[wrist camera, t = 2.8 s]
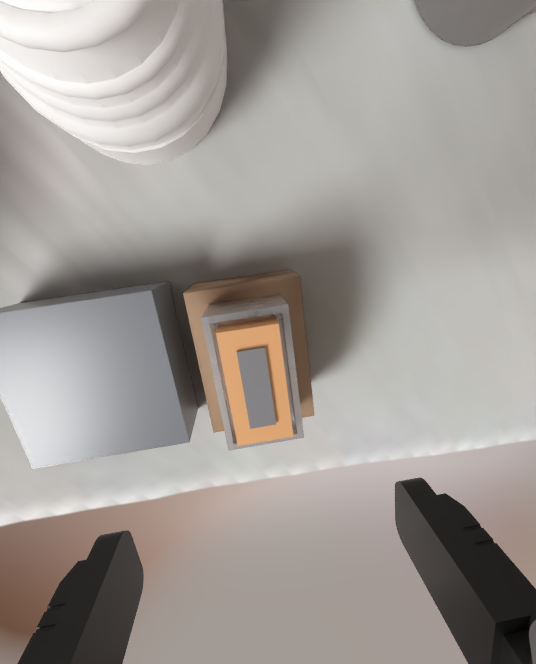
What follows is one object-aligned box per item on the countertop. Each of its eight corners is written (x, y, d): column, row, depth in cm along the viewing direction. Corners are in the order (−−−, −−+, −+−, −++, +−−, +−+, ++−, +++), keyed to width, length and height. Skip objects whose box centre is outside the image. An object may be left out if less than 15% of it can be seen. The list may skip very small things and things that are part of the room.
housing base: (280, 293, 21) (288, 304, 17) (294, 407, 24) (303, 437, 20) (208, 304, 21) (201, 318, 17) (230, 418, 24) (228, 450, 20)
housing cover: (275, 316, 18) (279, 324, 17) (289, 422, 21) (294, 438, 19) (217, 325, 18) (215, 334, 17) (238, 430, 20) (237, 448, 19)
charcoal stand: (168, 281, 25) (151, 290, 20) (197, 408, 29) (189, 442, 24) (19, 303, 25) (-35, 318, 20) (67, 430, 28) (32, 468, 23)
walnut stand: (288, 269, 26) (299, 276, 21) (302, 386, 29) (314, 415, 24) (193, 283, 25) (182, 293, 21) (218, 400, 29) (213, 432, 24)
